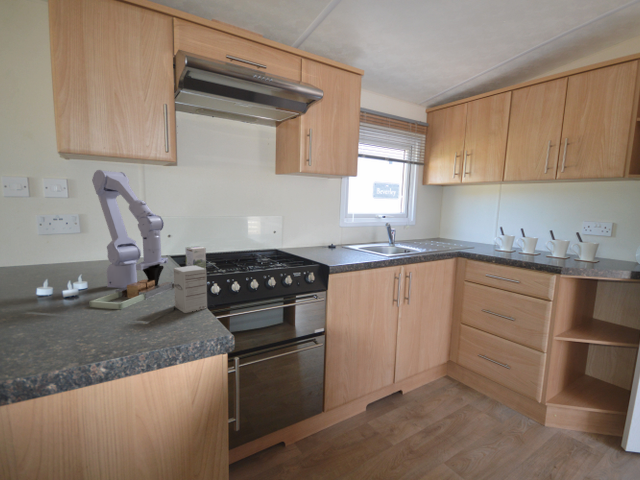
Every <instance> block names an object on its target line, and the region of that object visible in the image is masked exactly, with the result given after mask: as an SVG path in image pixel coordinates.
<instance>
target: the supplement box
mask: <svg viewBox="0 0 640 480" xmlns="http://www.w3.org/2000/svg"><path fill="white" fill-rule="evenodd" d="M207 281H208V279H207V268H206V269H204V268H202V267H199V266H196V265H195V266H186V265H185V266H181V267H174V268H173V284H174V285H173V287H174V288H173V289H174V307H175V308H176V309H178V310H179V311H181V312H182V313H184V314H187V313H193V312H196V310H197V311H201V310H200V309H202V310H205V307H206V309H208V292H207V291H208V286H207V285H208V284H207ZM192 311H193V312H192Z"/></svg>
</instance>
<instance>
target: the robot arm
mask: <svg viewBox="0 0 640 480" xmlns="http://www.w3.org/2000/svg"><path fill="white" fill-rule="evenodd" d="M91 180H92V181H91V182H92V184H93V187H94V191H95V194H96V195H97V197H98V201H99V203H100V207H101V210H102V213H103V216H104V219H105V222H106V225H107V228H108V231H109V235H110V238H111V241H110V242H109V243H108V244H107V246H106V250H107V251H106V252H107V259H108V261H109V262H110V264H109V265H108V266H107V269H106V280H107V281H106V282H107V286H106V287H105V288H116V289H117V288H118V289H122V288H125V287H127V285H129V284H132V283H135V282H138V275H137V274H138V273H137V271H143V273H144V275H145V277H146V278H147V280H155V286H157V285H159V281H160V276H161V274H162V272H163V270H164V265H165V264H168V263H169V258H168V257H162V245H161V244H162V243H161V231H162V230H163V229H164V219H163V218H162V217H161V216H160V215H157V214H156V213H154V212H153V211H152V209H151V208H149V206H148V205H147V202H146V201H144V200H142V199H139V197H137V195H136V193H135V191H133V189H132V187H131V186H130V179H129V176H127V174H126V173H125V172H123V171H112V170H111V171H109V170H102V169H97V170H96V171H94V173H93V176H92V179H91ZM119 196H121V197H122V198H123V199H124V200H125V201H126V203H127V204H129V205H128V210H129V211H130V212H131V214H132V215H133V217H134V218H135V219H136V221H137V222H138V223H137V228H138V230H139V231H140V236H141V238H142V252H141V248H140V247H139V246H138V244H137V241H136V240H134V239H133V238H132V237H129V235H128V232H127V229H126V226H125V222H124V219H123V217H122V213H121V210H120V207H119V204H118V202H117V197H119ZM142 254H143V255H142ZM141 255H142V256H143V261H142V262H140V263H138V262H139V260H140V258H141ZM163 264H164V265H163Z"/></svg>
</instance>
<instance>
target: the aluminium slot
mask: <svg viewBox="0 0 640 480" xmlns="http://www.w3.org/2000/svg"><path fill="white" fill-rule="evenodd" d="M172 289H174V288H173V282H171V281H170V282H169V281H165V282H162V283H160V284H159V283H158V285H157V286H154V287H151V288H149V289H146V290H143V291H141V292H139V295H141V294H145V299H144V300H148V299H151V298H153V297H156V296H158V295H162V294H163V293H166V292H167V291H170V290H172ZM116 292H118V295H119V297H118V298H121V299H122V298H124V299H131V298H134V297H128V296H127V287H125V288H118V289H116V290H115V291H114V293H116Z"/></svg>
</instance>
